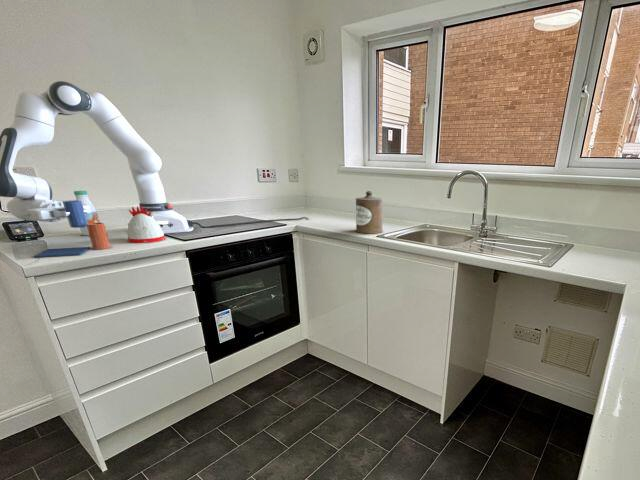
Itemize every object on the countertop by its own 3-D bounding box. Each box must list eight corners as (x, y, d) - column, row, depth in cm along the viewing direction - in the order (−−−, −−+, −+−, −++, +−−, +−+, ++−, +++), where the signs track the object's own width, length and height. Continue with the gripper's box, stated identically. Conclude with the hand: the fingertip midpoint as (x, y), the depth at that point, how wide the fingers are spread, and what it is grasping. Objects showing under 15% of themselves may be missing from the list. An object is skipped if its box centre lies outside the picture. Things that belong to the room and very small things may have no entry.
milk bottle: (82, 236, 163) (68, 191, 155) (81, 233, 168) (68, 190, 161) (103, 234, 167) (91, 191, 160) (102, 232, 173) (90, 190, 166)
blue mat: (90, 248, 143) (89, 246, 143) (79, 255, 133) (79, 253, 133) (48, 250, 138) (48, 249, 138) (34, 257, 128) (34, 256, 128)
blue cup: (90, 225, 146) (83, 200, 142) (86, 227, 141) (78, 201, 137) (73, 225, 144) (65, 200, 140) (68, 227, 139) (59, 202, 135)
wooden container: (351, 230, 200) (350, 190, 192) (371, 228, 209) (371, 189, 201) (366, 234, 190) (366, 192, 182) (387, 232, 199) (388, 191, 191)
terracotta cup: (112, 246, 148) (105, 222, 144) (108, 249, 143) (101, 224, 139) (95, 246, 146) (88, 222, 142) (91, 249, 141) (83, 224, 137)
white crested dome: (133, 237, 165) (125, 204, 159) (167, 236, 170) (160, 204, 164) (124, 243, 153) (115, 208, 147) (161, 242, 158) (153, 208, 152)
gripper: (15, 205, 132) (46, 207, 129) (71, 200, 150) (99, 202, 148) (21, 222, 134) (51, 224, 132) (76, 215, 153) (103, 217, 151)
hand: (77, 212), depth 140 cm, fingers closed on blue cup, 6 cm apart
